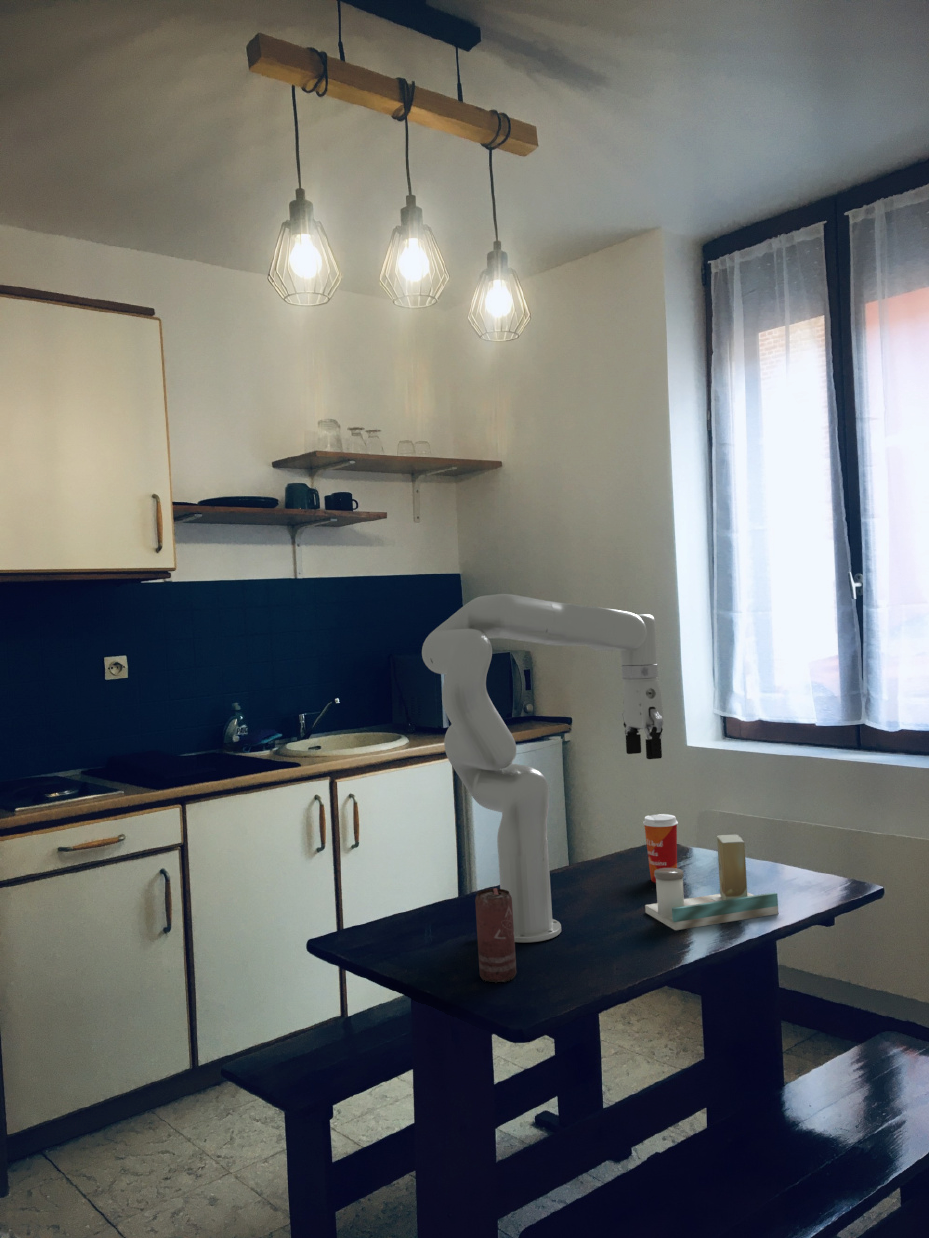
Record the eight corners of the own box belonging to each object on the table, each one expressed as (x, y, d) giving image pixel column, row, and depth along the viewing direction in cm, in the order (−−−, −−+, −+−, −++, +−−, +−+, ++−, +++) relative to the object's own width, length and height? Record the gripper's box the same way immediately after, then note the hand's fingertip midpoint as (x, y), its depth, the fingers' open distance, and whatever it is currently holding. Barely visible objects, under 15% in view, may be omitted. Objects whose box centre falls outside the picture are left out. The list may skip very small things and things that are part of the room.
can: (514, 968, 159) (509, 885, 159) (518, 982, 153) (512, 896, 153) (479, 970, 159) (474, 888, 159) (481, 985, 153) (475, 899, 153)
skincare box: (719, 895, 188) (715, 834, 188) (741, 894, 188) (737, 833, 188) (726, 905, 182) (722, 841, 182) (748, 904, 181) (744, 841, 182)
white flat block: (675, 930, 174) (673, 909, 174) (645, 912, 185) (644, 892, 185) (778, 913, 180) (777, 893, 180) (743, 897, 191) (742, 878, 191)
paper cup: (640, 878, 210) (636, 816, 210) (670, 873, 212) (666, 812, 212) (657, 887, 202) (653, 822, 203) (688, 882, 205) (684, 818, 205)
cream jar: (665, 919, 176) (662, 876, 176) (652, 911, 181) (649, 869, 181) (691, 915, 177) (688, 872, 177) (677, 907, 182) (674, 866, 182)
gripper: (675, 673, 188) (679, 759, 187) (638, 671, 204) (642, 750, 204) (640, 675, 186) (645, 762, 185) (606, 673, 203) (610, 752, 202)
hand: (643, 755), depth 195 cm, fingers open, 9 cm apart
